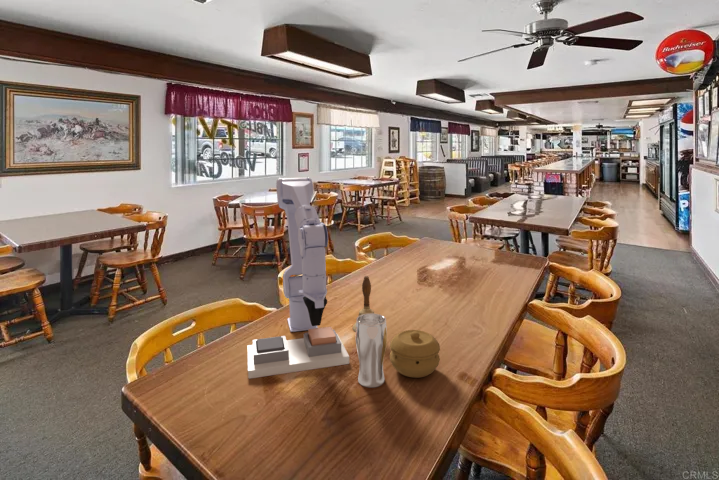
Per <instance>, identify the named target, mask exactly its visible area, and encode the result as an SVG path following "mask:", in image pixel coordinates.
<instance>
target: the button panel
mask: <svg viewBox="0 0 719 480" xmlns="http://www.w3.org/2000/svg"><path fill="white" fill-rule="evenodd" d="M332 330H333V332H334V334H335V336H336V343H328V344H321V345H313V346H311V344H310V341H309V334H308V332H304V333H303V337H301V338H294V339H288V340H287V337H286V335H281V338H282V343H283V348H284V349H283V350H276V351H268V352H261V353H258V346H257V338H256V339H255V338H254V339H252V344H248V345H246V347H247V349H246V350H247V377H248V380H250V379H256V378H262V377H268V376H275V375H276V376H277V375H283V374H289V373H296V372H301V371H304V372H305V371H309V370H316V369H324V368H330V367H335V366H341V365H349V364H350V355H349V353H348V351H347V349H346V347H345V345H344V344H343V341H342V340H341V338H340V336H339V334H338V333H337V332H336V330H335V329H332ZM278 337H280V336H278ZM264 338H265V337H264ZM264 338H262V339H264ZM270 338H272V337H270Z"/></svg>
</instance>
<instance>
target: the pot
mask: <svg viewBox="0 0 719 480" xmlns="http://www.w3.org/2000/svg"><path fill="white" fill-rule="evenodd" d="M389 348H390V350H391V351H390V353H389V359H390V362H391V365H392V367H394V369H395V370H396V372H397V373H399V374H401V375H402V376H405V377H407V378H408V377H409V378H413V379H414V378H415V379H417V378H418V379H419V378H425V377H427V376H429V375H430V374H432V373H433V372H434V371H435V370H436V369H437V368H438V366H439V363H440V360H441V358H440V355H439V353H440V351H441V346H440V342H439V341H438V340H437V338H436V337H435V336H434V335H432V334H430V333H429V332H427V331H424V330H420V329H408V330H402V331H400V332H398V333H397V334H395V335H394V336H393V337H392V339H391V340H390V343H389Z"/></svg>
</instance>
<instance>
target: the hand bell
mask: <svg viewBox="0 0 719 480" xmlns="http://www.w3.org/2000/svg"><path fill="white" fill-rule="evenodd" d="M371 283H372V282H371V281H370V278H369V276H367V275H365V276H364V277H363V281H362V285H361V292H362V295H363V308H361V309H360V310H359V311H358V316H360V315H363V314H368V313H374V314H375V311H374V309H372V308H371V306H370V304H371V303H370V296H371V292H372V284H371ZM352 330H353V331H354V332H355V333H356V322H355V323H354V324H353V325H352Z"/></svg>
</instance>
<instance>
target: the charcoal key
mask: <svg viewBox="0 0 719 480" xmlns="http://www.w3.org/2000/svg"><path fill="white" fill-rule="evenodd" d="M281 336H282V335H281ZM281 336H280V337H279V336H273V337H272V338H271V337H266V338H265V337H264V339H263V338H258V339H257V338H256V339H257V346H258V353H261V352H268V351H276V350H283V349H284V348H283V343H282V338H281Z"/></svg>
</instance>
